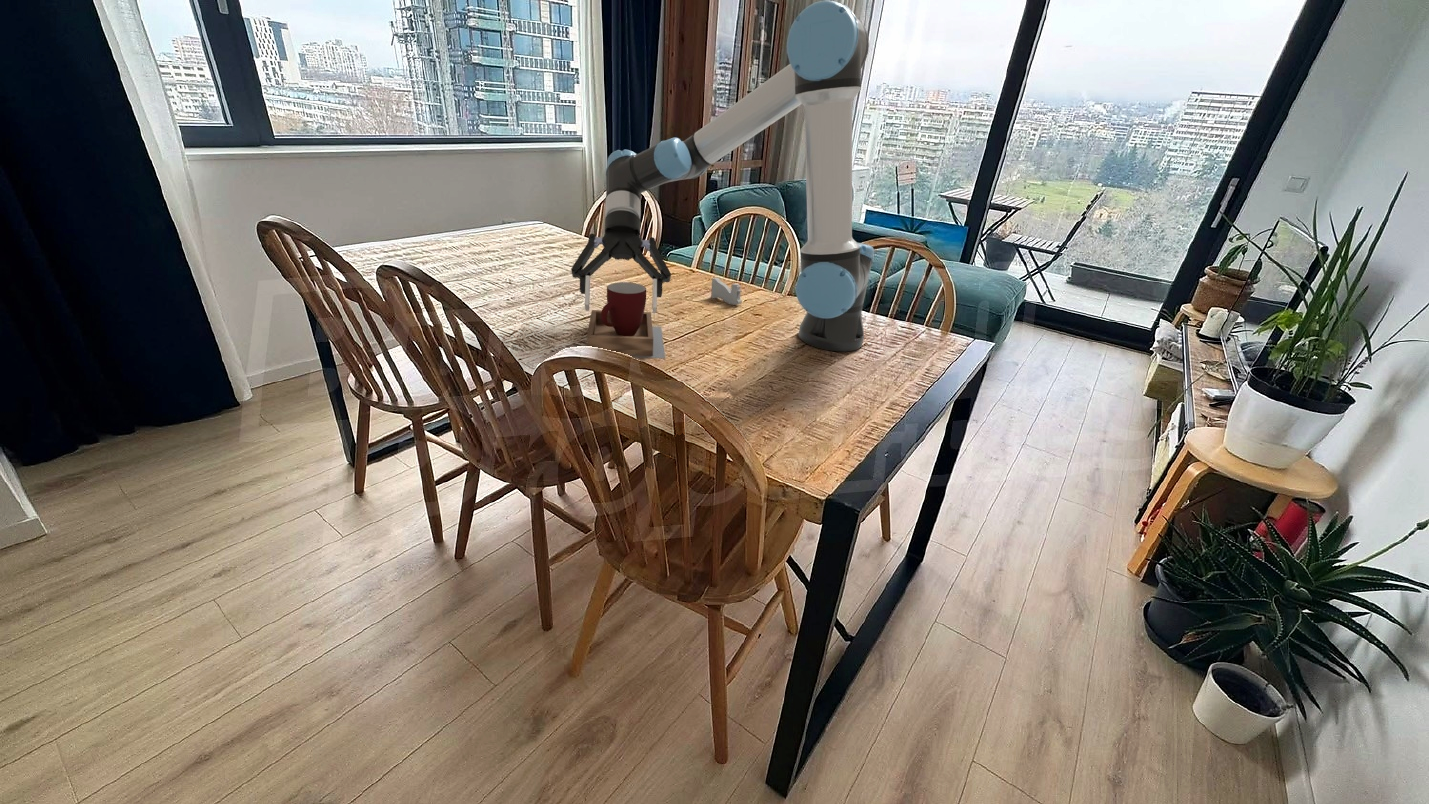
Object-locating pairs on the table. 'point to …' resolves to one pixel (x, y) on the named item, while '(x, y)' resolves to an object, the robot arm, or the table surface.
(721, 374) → the table surface
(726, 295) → the notched grey bracket
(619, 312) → the mug
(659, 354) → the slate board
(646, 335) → the wooden tray
